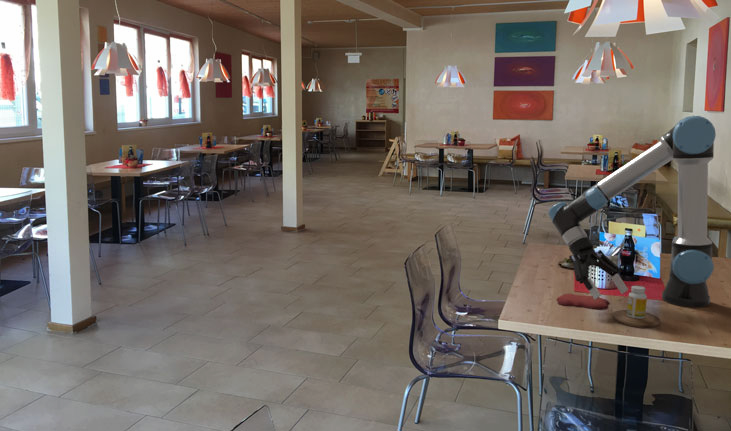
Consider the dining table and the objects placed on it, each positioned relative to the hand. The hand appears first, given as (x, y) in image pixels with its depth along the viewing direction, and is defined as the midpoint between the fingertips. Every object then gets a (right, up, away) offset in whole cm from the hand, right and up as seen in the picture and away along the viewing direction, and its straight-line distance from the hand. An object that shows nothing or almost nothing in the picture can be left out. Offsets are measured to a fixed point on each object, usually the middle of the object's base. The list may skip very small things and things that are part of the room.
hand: (611, 294), depth 205 cm
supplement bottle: (+5, -6, -8) cm, 11 cm away
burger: (+9, +3, +65) cm, 65 cm away
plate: (+5, -7, -7) cm, 11 cm away
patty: (-6, -5, +12) cm, 14 cm away
